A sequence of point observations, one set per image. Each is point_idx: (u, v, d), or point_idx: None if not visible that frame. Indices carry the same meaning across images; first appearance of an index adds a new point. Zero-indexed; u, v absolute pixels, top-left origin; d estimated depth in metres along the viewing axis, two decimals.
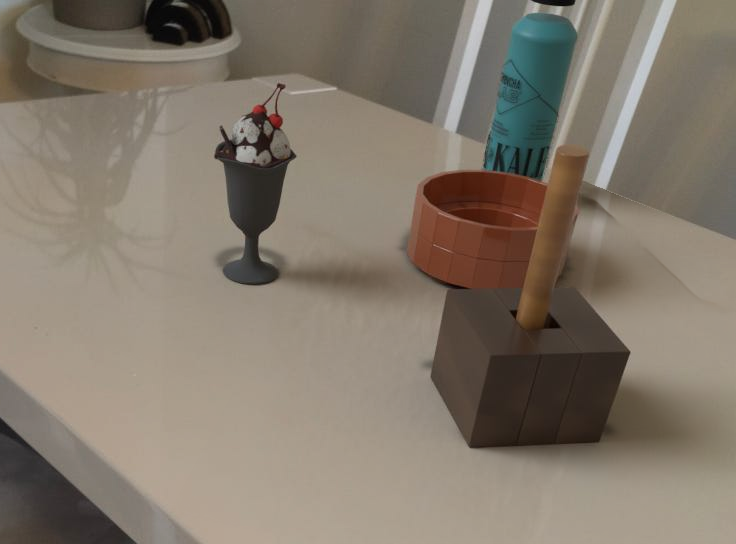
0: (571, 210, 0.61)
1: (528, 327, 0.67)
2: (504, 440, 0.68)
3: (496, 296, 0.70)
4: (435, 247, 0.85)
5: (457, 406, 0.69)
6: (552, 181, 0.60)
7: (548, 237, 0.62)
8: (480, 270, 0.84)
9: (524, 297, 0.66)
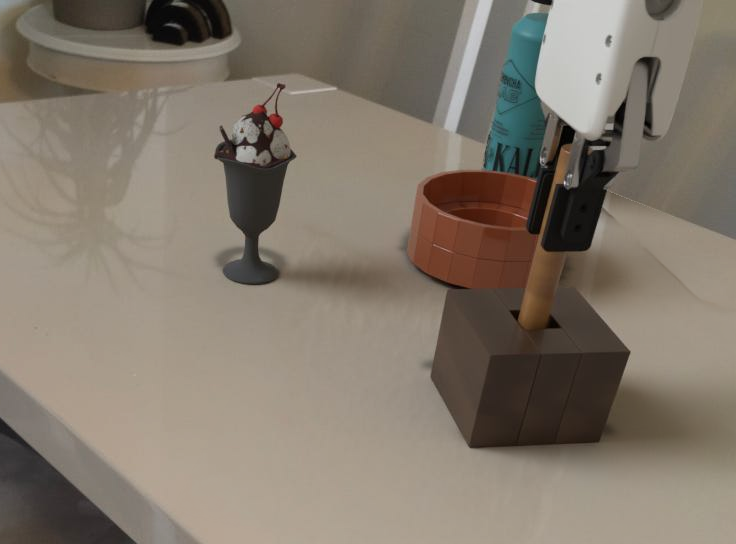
0: None
1: (531, 327, 0.67)
2: (504, 440, 0.68)
3: (496, 296, 0.70)
4: (435, 247, 0.85)
5: (457, 406, 0.69)
6: (557, 179, 0.60)
7: None
8: (480, 270, 0.84)
9: (527, 296, 0.66)
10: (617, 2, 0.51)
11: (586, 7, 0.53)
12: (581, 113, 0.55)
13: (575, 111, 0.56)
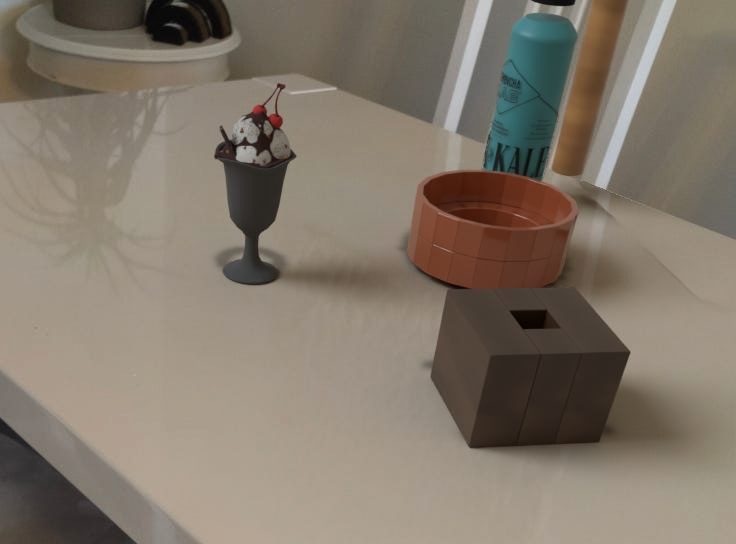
0: None
1: (596, 53, 0.57)
2: (504, 440, 0.68)
3: (496, 296, 0.70)
4: (435, 247, 0.85)
5: (457, 406, 0.69)
6: None
7: None
8: (480, 270, 0.84)
9: (593, 13, 0.56)
10: None
11: None
12: None
13: None
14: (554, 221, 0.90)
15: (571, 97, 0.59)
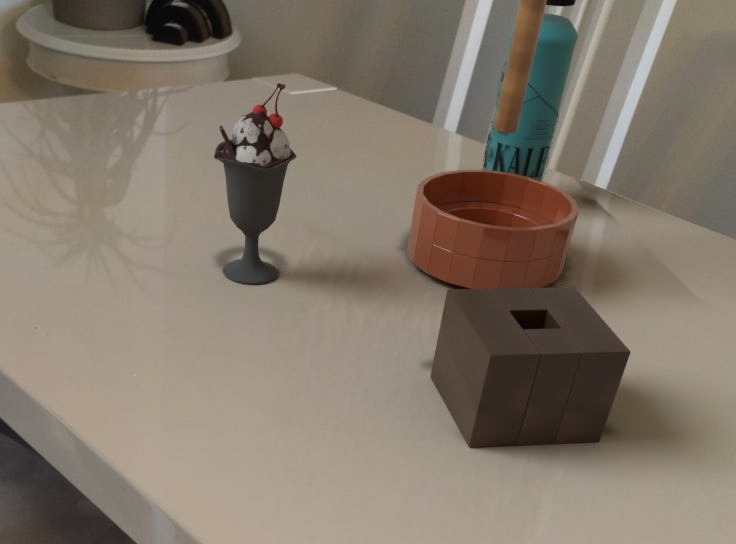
0: None
1: (523, 40, 0.77)
2: (504, 440, 0.68)
3: (496, 296, 0.70)
4: (435, 247, 0.85)
5: (457, 406, 0.69)
6: None
7: None
8: (480, 270, 0.84)
9: (520, 10, 0.76)
10: None
11: None
12: None
13: None
14: (554, 221, 0.90)
15: (506, 73, 0.79)
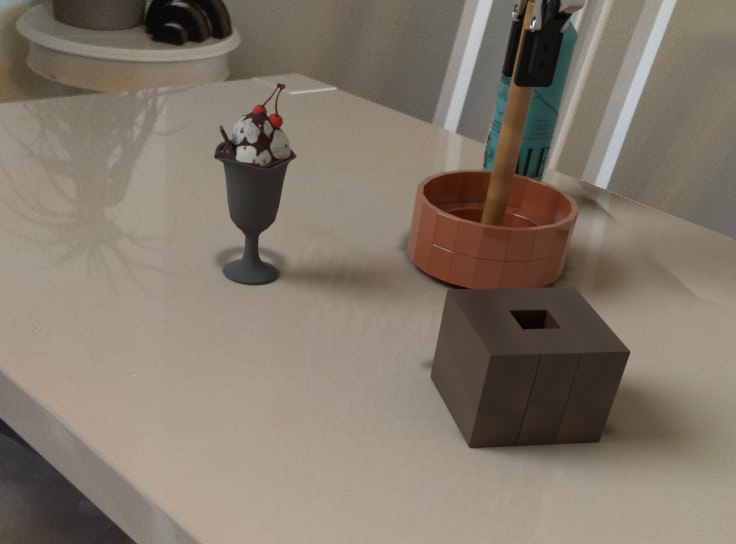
0: None
1: (506, 154, 0.84)
2: (504, 440, 0.68)
3: (496, 296, 0.70)
4: (435, 247, 0.85)
5: (457, 406, 0.69)
6: (525, 27, 0.78)
7: None
8: (480, 270, 0.84)
9: (503, 129, 0.83)
10: None
11: None
12: None
13: None
14: (554, 221, 0.90)
15: (490, 182, 0.87)
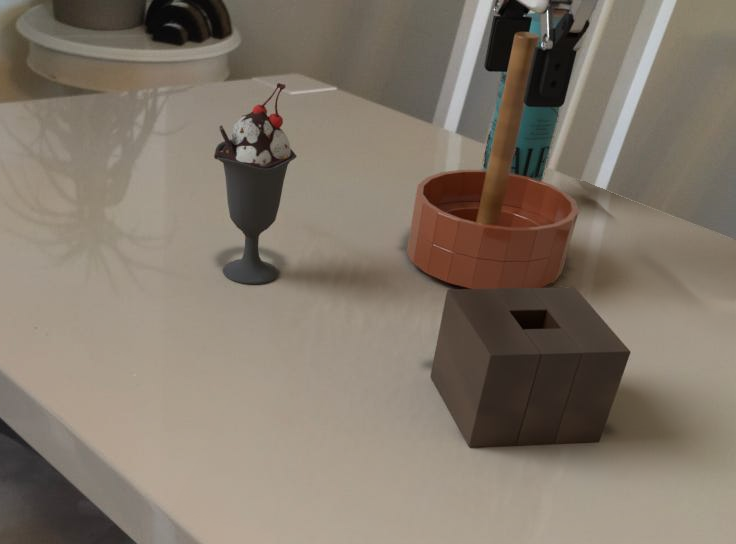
0: (526, 83, 0.79)
1: (494, 184, 0.85)
2: (504, 440, 0.68)
3: (496, 296, 0.70)
4: (435, 247, 0.85)
5: (457, 406, 0.69)
6: (512, 59, 0.78)
7: (509, 106, 0.80)
8: (480, 270, 0.84)
9: (491, 159, 0.84)
10: None
11: None
12: None
13: None
14: (554, 221, 0.90)
15: (479, 211, 0.87)
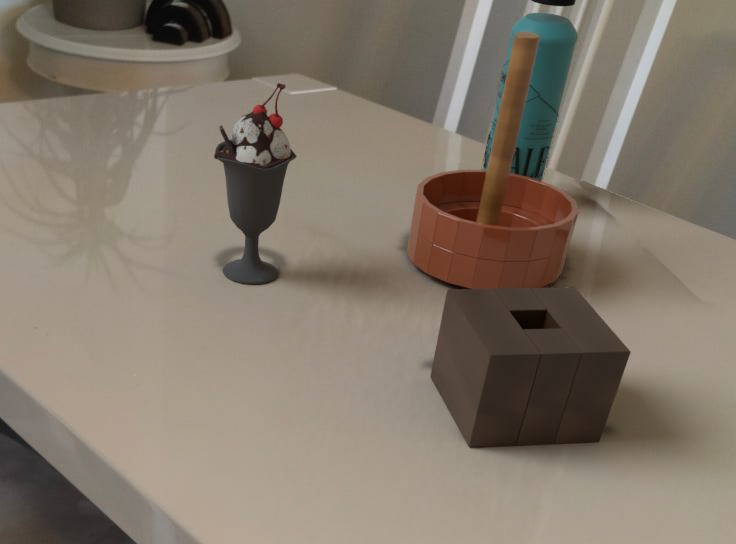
0: (526, 83, 0.79)
1: (494, 184, 0.85)
2: (504, 440, 0.68)
3: (496, 296, 0.70)
4: (435, 247, 0.85)
5: (457, 406, 0.69)
6: (512, 59, 0.78)
7: (509, 106, 0.80)
8: (480, 270, 0.84)
9: (491, 159, 0.84)
10: None
11: None
12: None
13: None
14: (554, 221, 0.90)
15: (479, 211, 0.87)
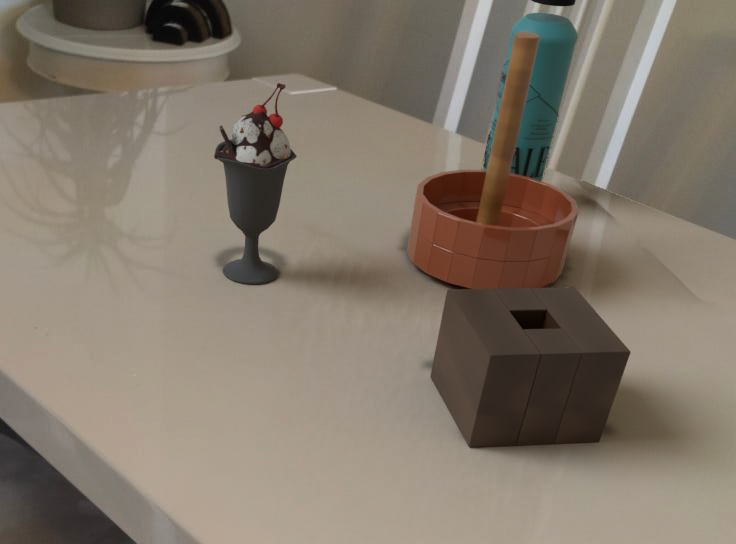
0: (526, 83, 0.79)
1: (494, 184, 0.85)
2: (504, 440, 0.68)
3: (496, 296, 0.70)
4: (435, 247, 0.85)
5: (457, 406, 0.69)
6: (512, 59, 0.78)
7: (509, 106, 0.80)
8: (480, 270, 0.84)
9: (491, 159, 0.84)
10: None
11: None
12: None
13: None
14: (554, 221, 0.90)
15: (479, 211, 0.87)
